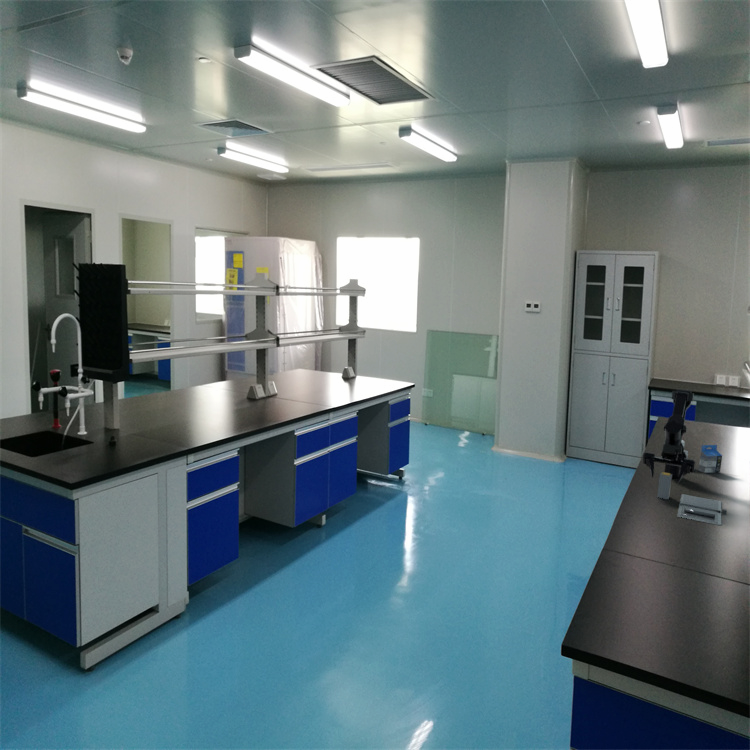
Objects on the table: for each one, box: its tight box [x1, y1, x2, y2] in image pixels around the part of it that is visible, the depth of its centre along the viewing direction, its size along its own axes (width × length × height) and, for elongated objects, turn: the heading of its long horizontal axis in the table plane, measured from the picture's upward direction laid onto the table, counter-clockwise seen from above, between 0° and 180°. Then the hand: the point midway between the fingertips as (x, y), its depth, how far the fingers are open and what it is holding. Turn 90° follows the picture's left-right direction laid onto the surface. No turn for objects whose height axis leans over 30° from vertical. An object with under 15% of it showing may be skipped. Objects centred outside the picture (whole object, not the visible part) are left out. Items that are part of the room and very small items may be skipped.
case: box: [676, 493, 728, 526], centre depth 230 cm, size 29×16×2 cm, turn 151°
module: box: [656, 471, 672, 500], centre depth 242 cm, size 4×4×10 cm
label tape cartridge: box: [697, 444, 723, 474], centre depth 281 cm, size 9×4×12 cm, turn 105°
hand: (665, 480), depth 241 cm, fingers open, 9 cm apart
